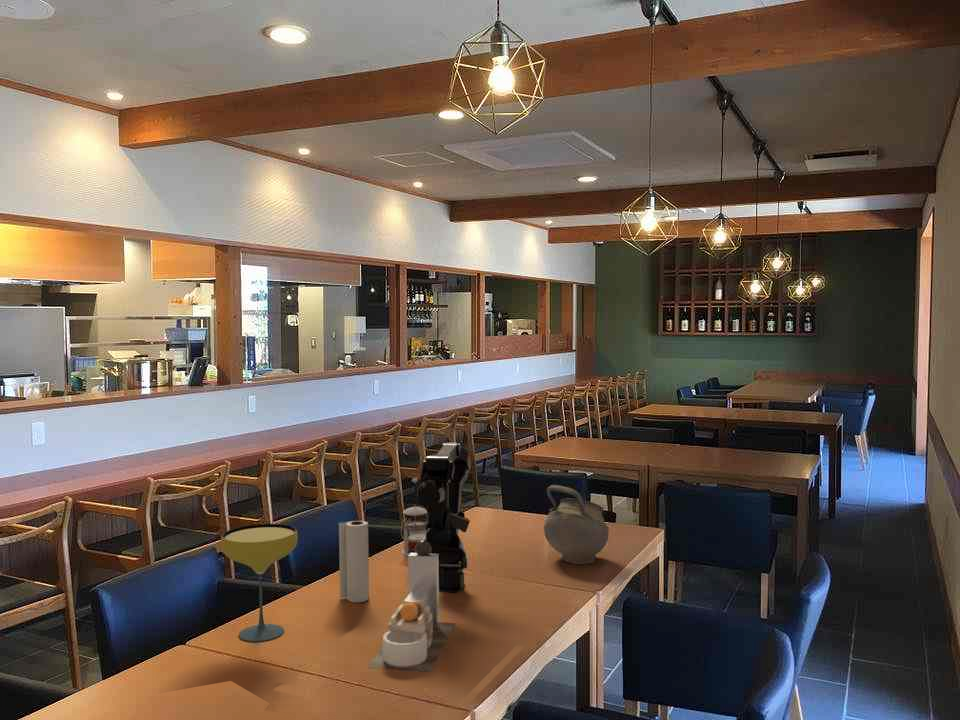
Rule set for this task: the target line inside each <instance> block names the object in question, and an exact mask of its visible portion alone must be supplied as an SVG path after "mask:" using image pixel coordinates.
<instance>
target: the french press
mask: <svg viewBox="0 0 960 720" xmlns="http://www.w3.org/2000/svg"><path fill="white" fill-rule="evenodd" d="M411 482H412V483H417V482H418V478H417V477H413V478H412V479H411ZM402 514H403V515H405V516H411V517H412V516H413V517H414V520H413V521H412V520H410V518H407V517H405V518H403V520H402V522H401V527H400V537H401V538H402V539H403V549H402V551H401V552H400V554H401V555H402V556H404V555H405V557H408V537H409V536H410V535H413V534H421V533H424V534H426V521H421V520H418V521H417V520H416V517H417V516H422V515H427V509H426V508H425V507H421V506H416V505H414V506H411V507H408V508H406V509H405V510H403V512H402ZM407 519H408V520H407ZM404 521H405V523H404ZM403 524H404V528H403ZM402 528H403V529H402ZM402 530H403V532H402ZM402 533H403V534H402Z"/></svg>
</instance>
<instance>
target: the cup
mask: <svg viewBox="0 0 960 720" xmlns="http://www.w3.org/2000/svg"><path fill="white" fill-rule="evenodd" d="M382 637H383V638H382V646H383V658H384V662H385V663H386V664H388V665H390V666H394V667H412V666H416V665H419V664H421V663H423V662H424V661H425V660H426V659H427V634H426V632H424V633H415V632H397V631H389V630H388V631H387V632H385V633H384V634H383V636H382Z"/></svg>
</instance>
